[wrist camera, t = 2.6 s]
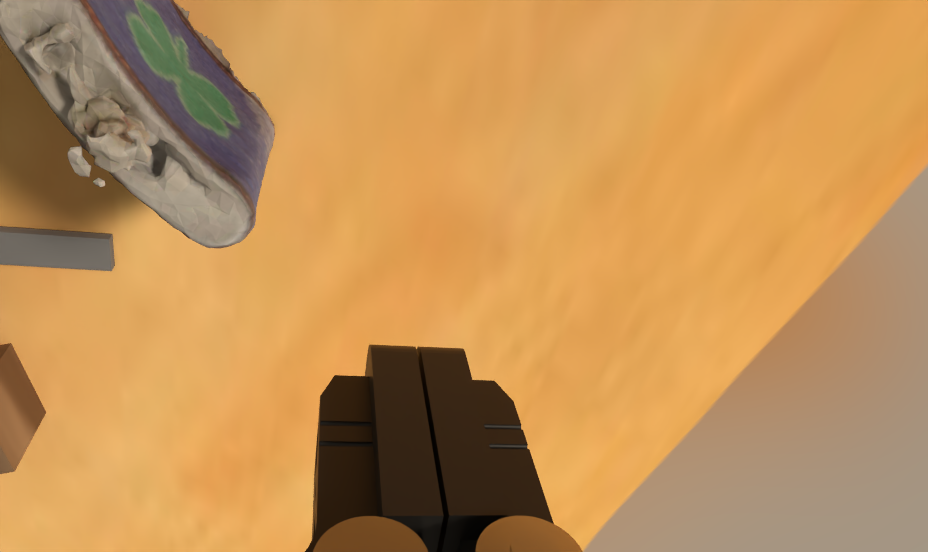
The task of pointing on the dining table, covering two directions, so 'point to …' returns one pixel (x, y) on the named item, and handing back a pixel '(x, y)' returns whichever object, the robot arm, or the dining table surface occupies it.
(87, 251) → the guide strip
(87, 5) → the flask
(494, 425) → the robot arm
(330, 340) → the dining table surface
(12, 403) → the walnut cube
